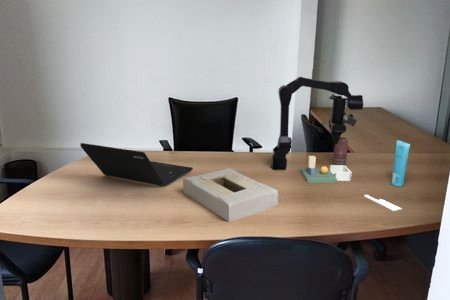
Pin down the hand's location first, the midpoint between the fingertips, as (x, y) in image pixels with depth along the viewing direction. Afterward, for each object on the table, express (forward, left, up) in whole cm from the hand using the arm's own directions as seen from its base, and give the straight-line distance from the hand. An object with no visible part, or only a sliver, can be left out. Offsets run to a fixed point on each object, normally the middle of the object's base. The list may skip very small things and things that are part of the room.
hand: (334, 141), depth 183 cm
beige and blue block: (-13, -10, -12) cm, 21 cm away
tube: (+23, -19, -14) cm, 33 cm away
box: (-51, -36, -15) cm, 64 cm away
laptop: (-90, -13, -15) cm, 92 cm away
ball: (-7, -10, -11) cm, 16 cm away
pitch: (-9, -10, -14) cm, 20 cm away
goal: (+1, -10, -14) cm, 17 cm away
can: (+5, +6, -14) cm, 16 cm away
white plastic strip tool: (+9, -38, -15) cm, 42 cm away
